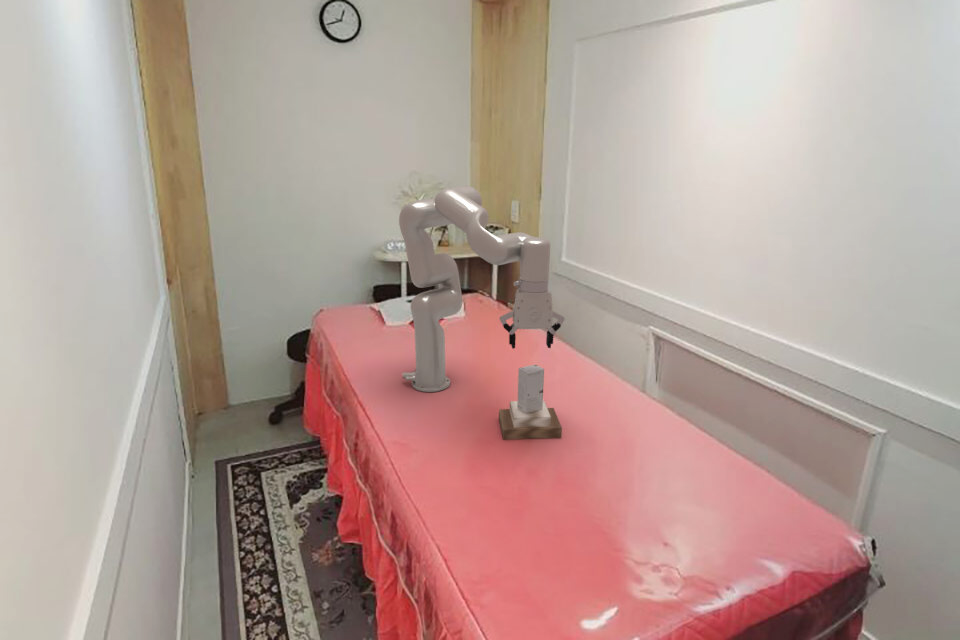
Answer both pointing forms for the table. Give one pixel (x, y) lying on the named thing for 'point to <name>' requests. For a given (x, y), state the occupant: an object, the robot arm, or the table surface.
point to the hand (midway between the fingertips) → (530, 346)
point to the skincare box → (530, 388)
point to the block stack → (529, 423)
